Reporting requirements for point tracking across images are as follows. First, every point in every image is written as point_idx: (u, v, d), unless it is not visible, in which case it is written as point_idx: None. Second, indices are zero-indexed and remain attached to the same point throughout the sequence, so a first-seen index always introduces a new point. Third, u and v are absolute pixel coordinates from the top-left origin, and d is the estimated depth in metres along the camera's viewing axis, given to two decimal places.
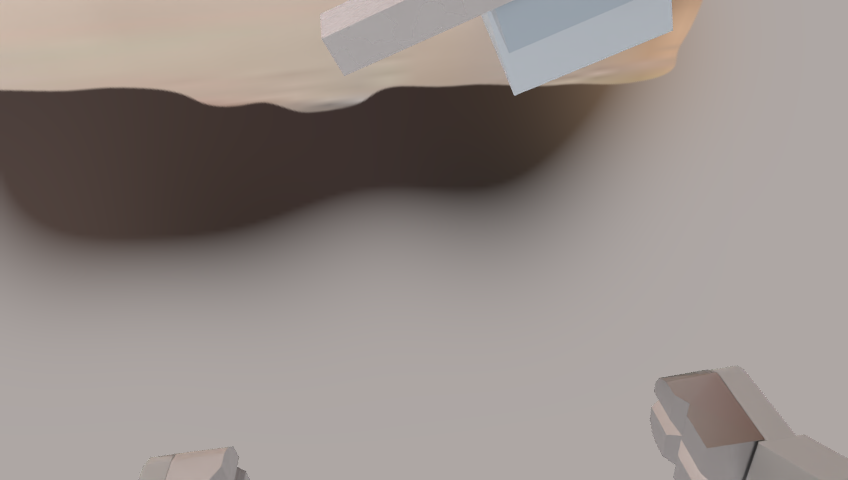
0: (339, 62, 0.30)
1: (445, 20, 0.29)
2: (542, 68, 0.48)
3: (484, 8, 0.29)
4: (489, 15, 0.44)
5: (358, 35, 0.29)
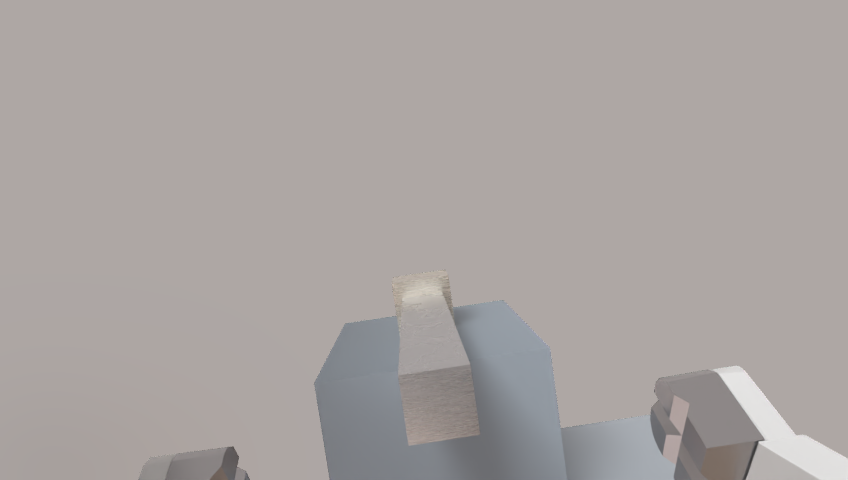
0: (445, 366, 0.19)
1: (443, 326, 0.25)
2: None
3: (446, 316, 0.27)
4: None
5: (417, 357, 0.21)
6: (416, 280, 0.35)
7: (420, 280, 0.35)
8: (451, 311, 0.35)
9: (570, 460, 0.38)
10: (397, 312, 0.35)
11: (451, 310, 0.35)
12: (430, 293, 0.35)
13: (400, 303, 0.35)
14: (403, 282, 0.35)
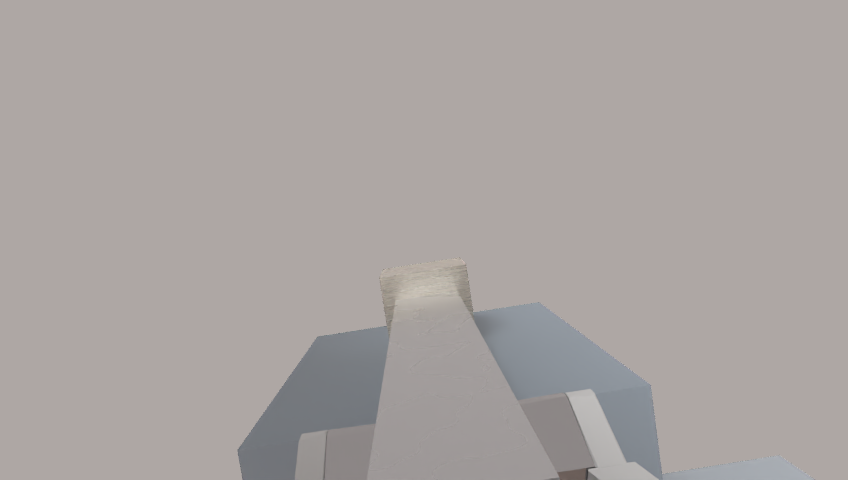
0: None
1: (466, 353, 0.13)
2: None
3: (469, 332, 0.15)
4: None
5: (416, 440, 0.09)
6: (417, 272, 0.23)
7: (423, 272, 0.22)
8: None
9: None
10: (388, 322, 0.23)
11: None
12: (439, 292, 0.23)
13: (392, 308, 0.22)
14: (397, 275, 0.23)
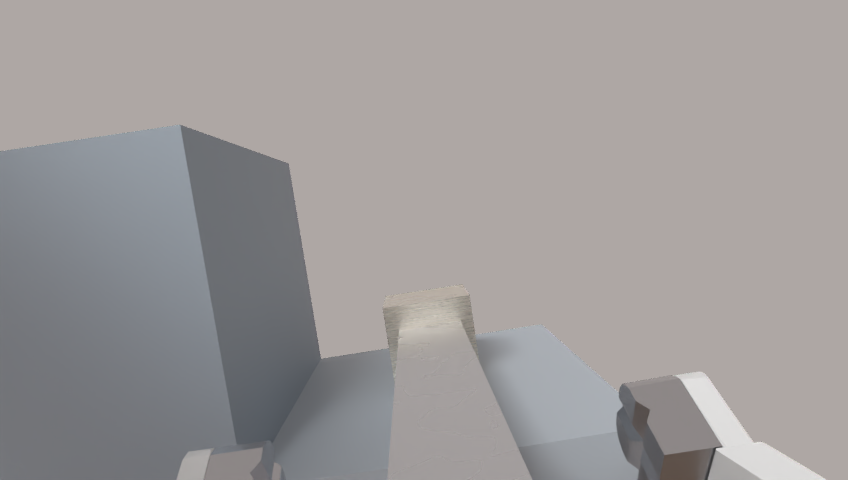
0: None
1: (473, 404, 0.13)
2: (571, 399, 0.19)
3: (475, 376, 0.15)
4: (371, 469, 0.16)
5: None
6: (420, 302, 0.23)
7: (426, 302, 0.22)
8: (474, 350, 0.23)
9: (354, 382, 0.25)
10: (391, 352, 0.23)
11: (474, 348, 0.23)
12: (442, 322, 0.23)
13: (396, 338, 0.22)
14: (400, 306, 0.23)
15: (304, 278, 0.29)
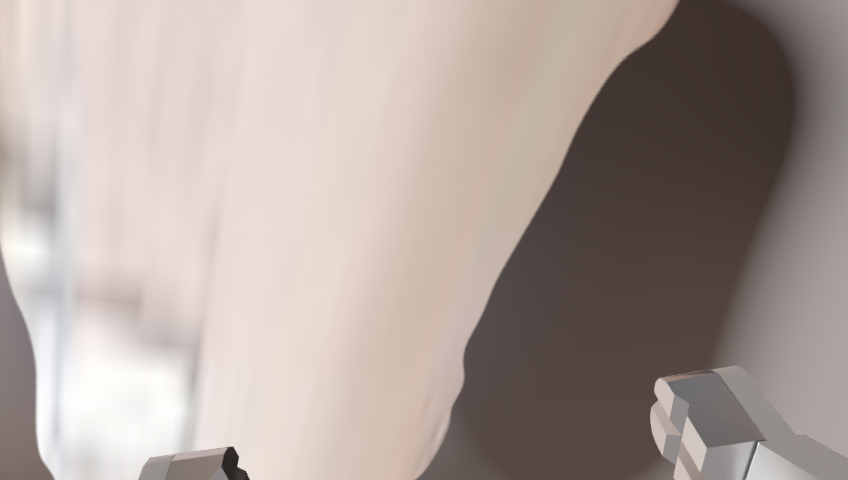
0: None
1: None
2: None
3: None
4: None
5: None
6: None
7: None
8: None
9: None
10: None
11: None
12: None
13: None
14: None
15: None
